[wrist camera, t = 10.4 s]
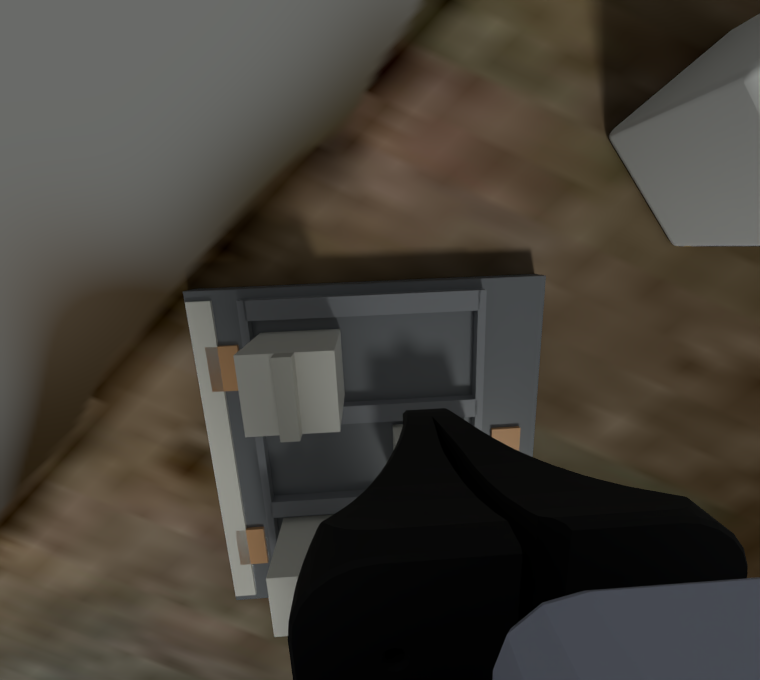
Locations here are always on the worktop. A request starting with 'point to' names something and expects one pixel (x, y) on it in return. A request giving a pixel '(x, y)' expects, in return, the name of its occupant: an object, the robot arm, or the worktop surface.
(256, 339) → the grey ridged block
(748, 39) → the medicine bottle
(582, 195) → the worktop surface
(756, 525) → the worktop surface
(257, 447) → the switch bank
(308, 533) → the grey ridged block
